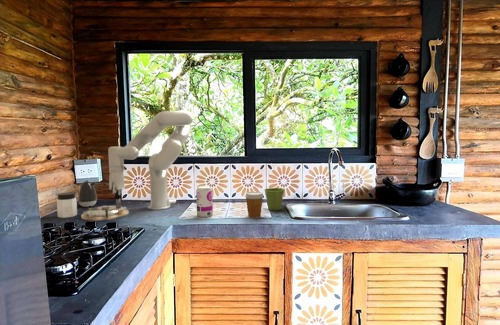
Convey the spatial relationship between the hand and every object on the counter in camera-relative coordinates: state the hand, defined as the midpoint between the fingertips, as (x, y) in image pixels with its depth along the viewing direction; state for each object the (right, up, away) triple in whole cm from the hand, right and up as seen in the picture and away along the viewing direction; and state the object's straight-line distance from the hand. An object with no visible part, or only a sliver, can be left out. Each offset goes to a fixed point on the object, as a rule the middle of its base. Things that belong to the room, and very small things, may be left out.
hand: (118, 202), depth 177 cm
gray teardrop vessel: (-25, -5, +17) cm, 31 cm away
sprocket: (-4, -5, -6) cm, 9 cm away
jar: (-24, -7, -7) cm, 26 cm away
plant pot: (+87, -5, +4) cm, 87 cm away
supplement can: (+49, -6, -9) cm, 50 cm away
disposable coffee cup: (+75, -6, -11) cm, 76 cm away
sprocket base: (-4, -6, -6) cm, 10 cm away
